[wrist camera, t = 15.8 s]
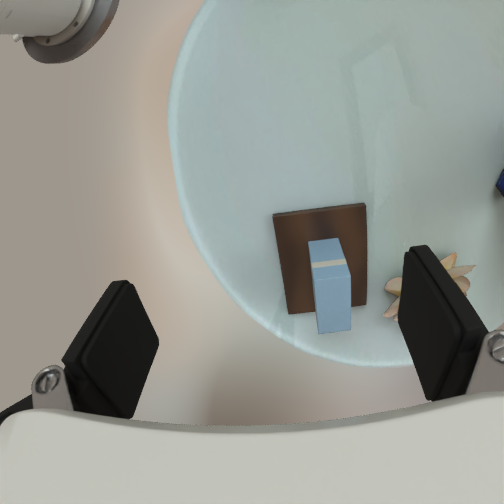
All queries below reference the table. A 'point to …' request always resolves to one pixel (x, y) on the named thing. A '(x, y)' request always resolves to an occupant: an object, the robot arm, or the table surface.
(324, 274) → the box
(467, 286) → the decorative flower
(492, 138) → the table surface
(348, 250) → the brown wooden board
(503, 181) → the book
